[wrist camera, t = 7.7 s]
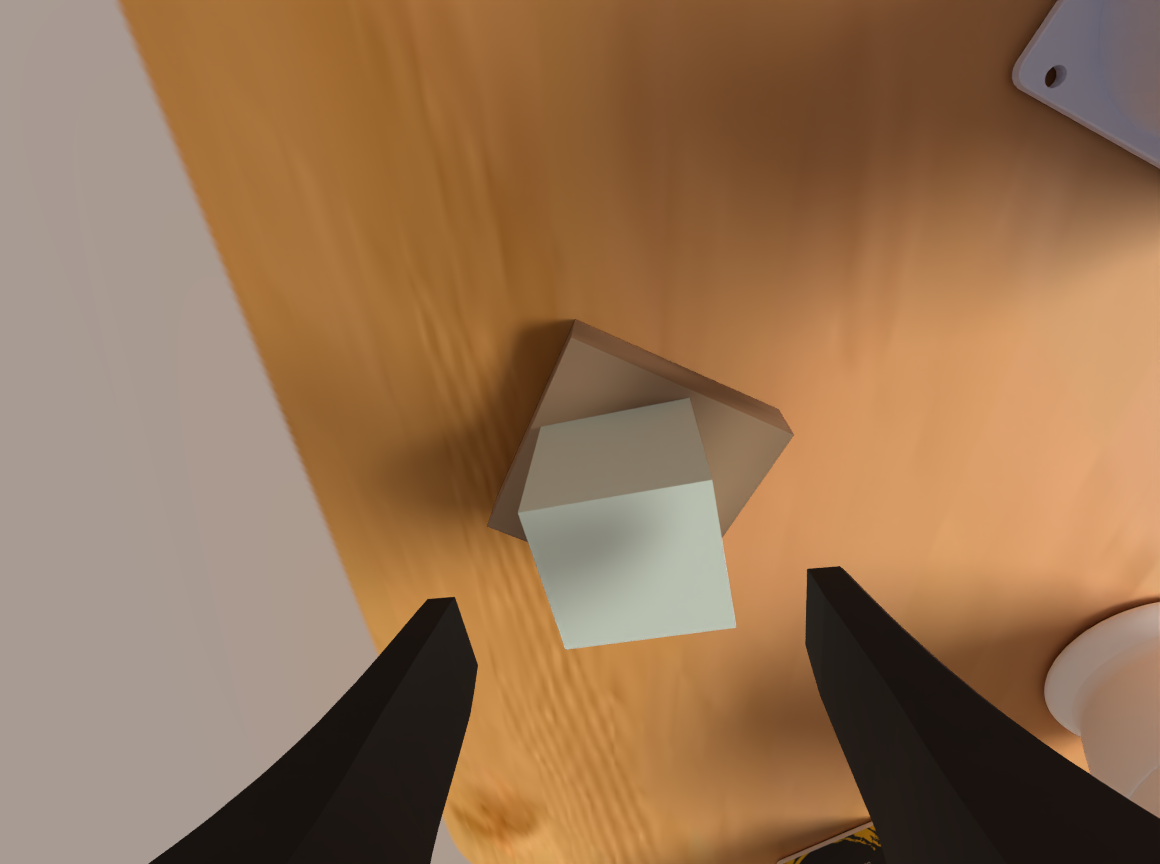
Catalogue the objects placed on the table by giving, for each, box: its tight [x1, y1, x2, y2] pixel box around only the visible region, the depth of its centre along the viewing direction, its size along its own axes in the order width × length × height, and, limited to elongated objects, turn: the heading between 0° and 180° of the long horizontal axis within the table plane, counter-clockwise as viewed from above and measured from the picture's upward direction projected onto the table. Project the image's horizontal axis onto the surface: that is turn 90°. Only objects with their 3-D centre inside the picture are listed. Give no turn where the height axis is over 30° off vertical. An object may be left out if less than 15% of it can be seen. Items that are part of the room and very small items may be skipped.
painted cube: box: [518, 398, 736, 650], centre depth 18 cm, size 5×5×5 cm
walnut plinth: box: [487, 319, 794, 542], centre depth 21 cm, size 8×8×2 cm
